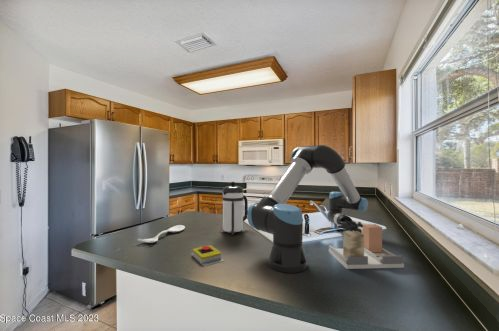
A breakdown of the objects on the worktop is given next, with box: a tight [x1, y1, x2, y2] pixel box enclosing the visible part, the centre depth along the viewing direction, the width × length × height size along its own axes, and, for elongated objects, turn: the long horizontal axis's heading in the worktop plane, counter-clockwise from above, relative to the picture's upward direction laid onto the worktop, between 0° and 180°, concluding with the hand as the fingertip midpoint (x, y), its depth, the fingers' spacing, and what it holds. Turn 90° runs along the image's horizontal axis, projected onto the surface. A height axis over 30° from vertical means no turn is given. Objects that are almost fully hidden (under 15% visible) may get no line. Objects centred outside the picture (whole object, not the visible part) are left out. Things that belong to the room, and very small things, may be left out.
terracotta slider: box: [362, 223, 383, 252], centre depth 102 cm, size 6×5×11 cm
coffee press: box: [219, 181, 249, 237], centre depth 136 cm, size 17×16×30 cm
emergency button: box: [191, 245, 225, 267], centre depth 98 cm, size 9×4×15 cm
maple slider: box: [342, 230, 364, 258], centre depth 91 cm, size 6×5×11 cm
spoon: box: [136, 224, 186, 244], centre depth 126 cm, size 9×32×4 cm, turn 163°
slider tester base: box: [328, 245, 405, 270], centre depth 97 cm, size 23×17×4 cm
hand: (366, 233), depth 107 cm, fingers closed
